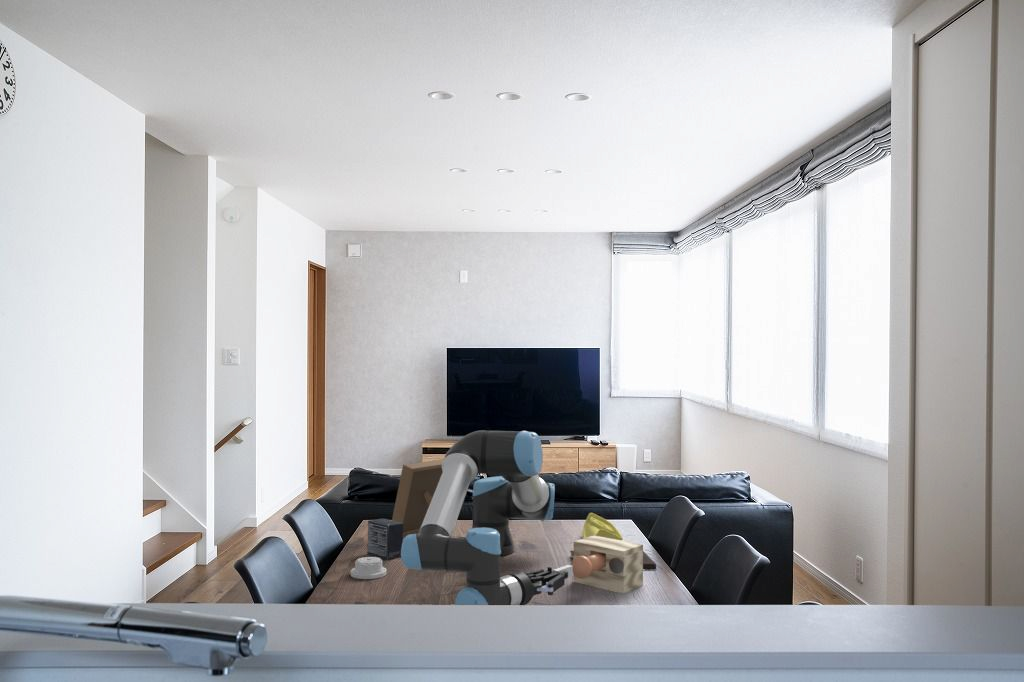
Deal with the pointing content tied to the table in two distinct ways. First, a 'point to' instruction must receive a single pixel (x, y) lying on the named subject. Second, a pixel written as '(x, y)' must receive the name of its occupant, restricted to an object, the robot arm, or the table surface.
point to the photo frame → (416, 493)
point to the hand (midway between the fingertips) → (570, 570)
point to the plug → (588, 564)
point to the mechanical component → (368, 568)
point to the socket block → (612, 563)
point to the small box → (385, 538)
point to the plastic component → (600, 528)
